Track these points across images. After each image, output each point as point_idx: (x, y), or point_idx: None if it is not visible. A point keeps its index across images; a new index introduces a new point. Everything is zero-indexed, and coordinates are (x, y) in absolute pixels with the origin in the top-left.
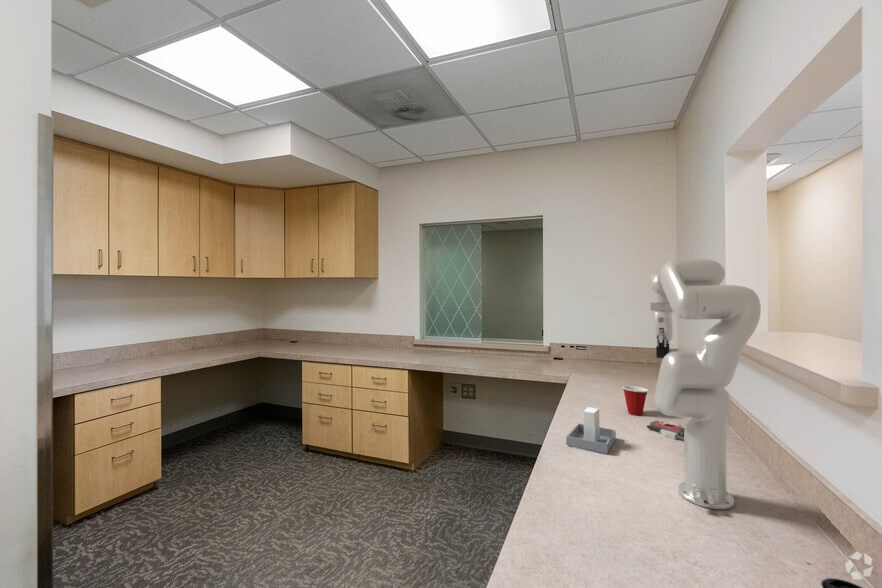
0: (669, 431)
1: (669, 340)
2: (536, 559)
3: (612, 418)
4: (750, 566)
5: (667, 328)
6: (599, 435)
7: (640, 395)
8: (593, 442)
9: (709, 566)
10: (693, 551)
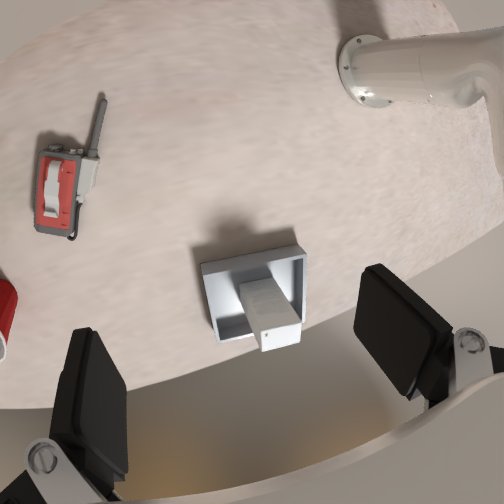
0: (82, 179)
1: (496, 374)
2: (495, 210)
3: (73, 318)
4: None
5: None
6: (244, 288)
7: None
8: (305, 277)
9: None
10: None
